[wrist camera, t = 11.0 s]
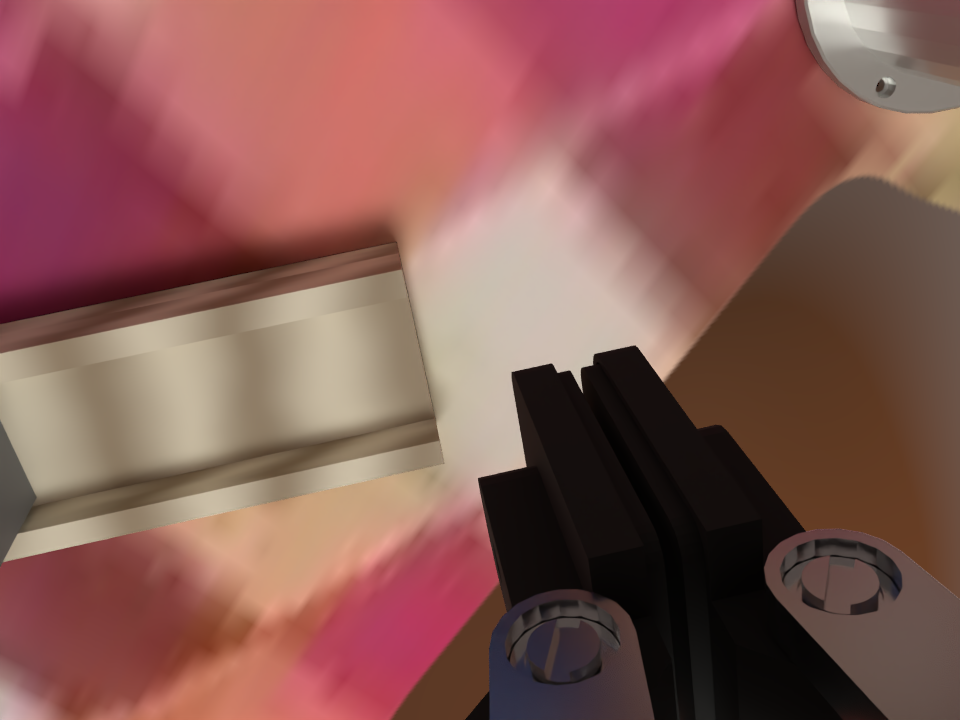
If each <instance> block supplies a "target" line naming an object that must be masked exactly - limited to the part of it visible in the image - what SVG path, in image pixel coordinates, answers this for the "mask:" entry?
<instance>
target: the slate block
mask: <svg viewBox="0 0 960 720" xmlns="http://www.w3.org/2000/svg"><path fill="white" fill-rule="evenodd" d="M36 498H37V497H36V495H35V493H34V491H33V489H32V486H31V484H30V482H29V480H28V478H27V476H26V474H25V472H24V469H23V467H22V465H21V463H20V461H19V459H18V457H17V455H16V452H15V450H14V448H13V446H12V444H11V442H10V440H9V438H8V436H7V433H6V431H5V429H4V427H3V425H2V423H1V421H0V566H1V564H2V563H3V561H4V559H5V557H6V555H7V553H8V551H9V549H10V547H11V546H12V544H13V542H14V540H15V538H16V536H17V534H18V532H19V530H20V528H21V527H22V525H23V523H24V521H25V519H26V517H27V515H28V513H29V511H30V509H31V508H32V506H33V504H34V502H35V500H36Z"/></svg>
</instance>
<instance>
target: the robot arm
mask: <svg viewBox="0 0 960 720" xmlns="http://www.w3.org/2000/svg"><path fill="white" fill-rule="evenodd" d="M795 1H796V8H797V15H798V20H799V23H800V26H801V29H802V31H803V34H804V37H805V40H806V43H807V46H808V47H809V49H810V51H811V52H812V54H813V56H814V57H815V59H816V61H817V62H818V64H819V66H820V67H821V69H822V70H823V71H824V72H825V73H826V74H827V75H828V76H829V77H830V78H831V79H832V80H833V81H834V82H835V83H836V84H837V85H838V87H840V88H841V89H843V90H845V91H846V92H848V93H849V94H851V95H852V96H854V97H856V98H857V99H859V100H861V101H864V102H866V103H869V104H872V105H874V106H877V107H880V108H883V109H888V110H892V111H897V112H902V113H935V112H940V111H945V110H950V109H955V108H959V107H960V0H795ZM878 82H879V86H878V87H877V84H878ZM876 87H877V88H876ZM581 381H582V389H583V393H582V391H581V389H580V388H579V386H578V384H577V382H576V380H575V378H574V376H573V375H572V373H571V371H565V372H560V373H557V371H556V369H555V367H554V366H553V364H547V365H542V366H538V367H533V368H529V369H524V370H519V371H515V372H512V384H513V390H514V396H515V402H516V408H517V413H518V419H519V425H520V431H521V437H522V442H523V448H524V454H525V460H526V466H527V467H525V468H521V469H517V470H512V471H508V472H503V473H499V474H494V475H490V476H485V477H481V478H478V482H479V488H480V493H481V498H482V503H483V508H484V513H485V518H486V523H487V528H488V533H489V537H490V542H491V547H492V551H493V556H494V560H495V565H496V569H497V573H498V578H499V582H500V586H501V590H502V594H503V598H504V602H505V606H506V610H507V613H506V614H505V615H504V616H502V618H501V619H500V621H499V623H498V624H497V626H496V627H495V629H494V630H493V633H492V637H491V643H490V648H489V676H490V677H489V681H490V682H489V689H490V690H489V692H488V693H487V694H486V695H485V697H484V698H483V699H482V700H481V701H480V703H479V704H478V705H477V706H476V707H475V709H474V710H473V711H472V712H471V713H470V715H469V716H468V717H467V718H466V719H465V720H960V599H959V598H957V597H956V596H955V595H954V594H952V593H951V592H950V591H949V590H948V589H947V588H945V587H944V586H943V585H941V584H940V583H939V582H938V581H937V580H936V579H934V578H933V577H932V576H931V575H930V574H928V573H927V572H926V571H925V570H923V569H922V568H921V567H920V566H919V565H917V564H916V563H915V562H914V561H913V560H911V559H910V558H909V557H908V556H906V555H905V554H904V553H903V552H902V551H900V550H898V549H897V548H895V547H894V546H892V545H890V544H889V543H887V542H886V541H884V540H881V539H879V538H876V537H873V536H870V535H868V534H865V533H862V532H855V531H850V530H843V529H817V530H813V531H808V532H806V531H805V530H804V528H803V527H802V526H801V525H800V523H799V522H798V521H797V519H796V518H795V517H794V516H793V515H792V513H791V512H790V511H789V509H788V508H787V507H786V505H785V504H784V503H783V502H782V500H781V499H780V498H779V496H778V495H777V494H776V493H775V491H774V490H773V489H772V488H771V486H770V485H769V484H768V482H767V481H766V480H765V479H764V477H763V476H762V475H761V474H760V472H759V471H758V470H757V468H756V467H755V466H754V465H753V464H752V462H751V461H750V459H749V458H748V457H747V456H746V454H745V453H744V452H743V451H742V449H741V448H740V447H739V445H738V444H737V443H736V442H735V440H734V439H733V438H732V437H731V435H730V434H729V433H728V432H727V430H726V429H724V428H723V427H722V426H721V425H714V426H709V427H704V428H700V429H696V427H695V426H694V424H693V423H692V422H691V420H690V419H689V418H688V416H687V415H686V413H685V412H684V411H683V409H682V408H681V407H680V405H679V404H678V402H677V401H676V400H675V398H674V397H673V396H672V394H671V393H670V391H669V390H668V389H667V388H666V386H665V384H664V383H663V382H662V380H661V379H660V378H659V376H658V375H657V373H656V372H655V371H654V369H653V368H652V367H651V365H650V364H649V362H648V361H647V360H646V358H645V357H644V355H643V354H642V353H641V351H640V350H639V349H638V347H636V346H630V347H625V348H620V349H616V350H611V351H607V352H602V353H597V354H594V357H593V365H592V366H588V367H583V368H581Z"/></svg>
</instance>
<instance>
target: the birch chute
mask: <svg viewBox="0 0 960 720" xmlns="http://www.w3.org/2000/svg"><path fill="white" fill-rule="evenodd" d="M0 421H1V423H2V425H3V427H4V429H5V431H6V433H7V436H8V438H9V440H10V442H11V444H12V446H13V448H14V450H15V452H16V455H17V457H18V459H19V461H20V463H21V465H22V467H23V469H24V472H25V474H26V476H27V478H28V480H29V482H30V484H31V486H32V489H33V491H34V493H35V495H36V497H37V498H36V500H35V502H34V504H33V506H32V508H31V509H30V511H29V513H28V515H27V517H26V519H25V521H24V523H23V525H22V527H21V528H20V530H19V532H18V534H17V536H16V538H15V540H14V542H13V544H12V546H11V547H10V549H9V551H8V553H7V555H6V557H5V559H4V561H3V562H5V561H10V560H14V559H18V558H23V557H27V556H32V555H36V554H41V553H45V552H50V551H54V550H59V549H63V548H68V547H72V546H77V545H81V544H86V543H90V542H95V541H99V540H104V539H108V538H113V537H117V536H122V535H126V534H131V533H135V532H140V531H144V530H149V529H153V528H158V527H162V526H167V525H171V524H176V523H180V522H185V521H189V520H194V519H198V518H203V517H207V516H212V515H216V514H221V513H225V512H230V511H234V510H239V509H243V508H248V507H252V506H257V505H261V504H266V503H270V502H275V501H279V500H284V499H288V498H292V497H297V496H301V495H306V494H310V493H315V492H319V491H324V490H328V489H333V488H337V487H342V486H346V485H351V484H355V483H360V482H364V481H369V480H373V479H378V478H382V477H387V476H391V475H396V474H400V473H405V472H409V471H414V470H418V469H423V468H427V467H432V466H436V465H441V464H444V459H443V454H442V449H441V444H440V439H439V435H438V430H437V425H436V420H435V416H434V411H433V407H432V402H431V398H430V393H429V388H428V384H427V379H426V375H425V370H424V366H423V361H422V357H421V352H420V347H419V343H418V338H417V334H416V329H415V325H414V320H413V315H412V311H411V306H410V302H409V297H408V293H407V288H406V283H405V279H404V274H403V270H402V265H401V261H400V256H399V252H398V247H397V242H394V243H390V244H385V245H380V246H375V247H370V248H366V249H361V250H356V251H351V252H346V253H341V254H337V255H332V256H327V257H322V258H317V259H313V260H308V261H303V262H298V263H293V264H288V265H284V266H279V267H274V268H269V269H264V270H260V271H255V272H250V273H245V274H240V275H235V276H231V277H226V278H221V279H216V280H211V281H207V282H202V283H197V284H192V285H187V286H182V287H178V288H173V289H168V290H163V291H158V292H154V293H149V294H144V295H139V296H134V297H129V298H125V299H120V300H115V301H110V302H105V303H101V304H96V305H91V306H86V307H81V308H76V309H72V310H67V311H62V312H57V313H52V314H48V315H43V316H38V317H33V318H28V319H23V320H19V321H14V322H9V323H4V324H0Z"/></svg>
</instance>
